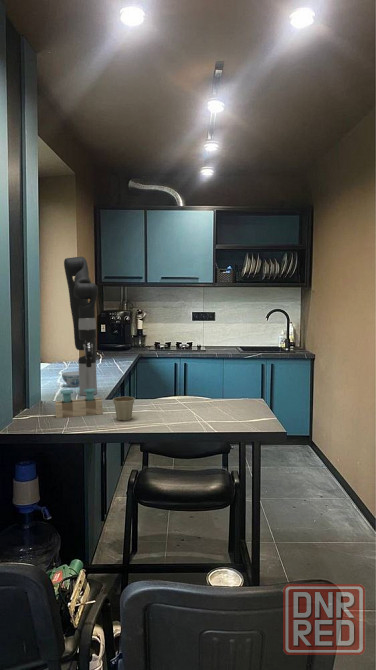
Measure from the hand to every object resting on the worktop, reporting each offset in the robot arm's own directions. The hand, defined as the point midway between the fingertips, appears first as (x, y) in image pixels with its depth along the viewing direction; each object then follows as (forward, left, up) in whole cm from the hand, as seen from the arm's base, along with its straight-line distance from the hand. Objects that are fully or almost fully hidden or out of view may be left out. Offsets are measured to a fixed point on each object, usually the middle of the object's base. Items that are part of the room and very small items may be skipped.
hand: (88, 366), depth 201 cm
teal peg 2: (0, 0, -17) cm, 17 cm away
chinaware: (-71, -4, -21) cm, 75 cm away
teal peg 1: (0, -10, -17) cm, 20 cm away
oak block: (0, -5, -21) cm, 22 cm away
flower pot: (+16, +13, -21) cm, 29 cm away
